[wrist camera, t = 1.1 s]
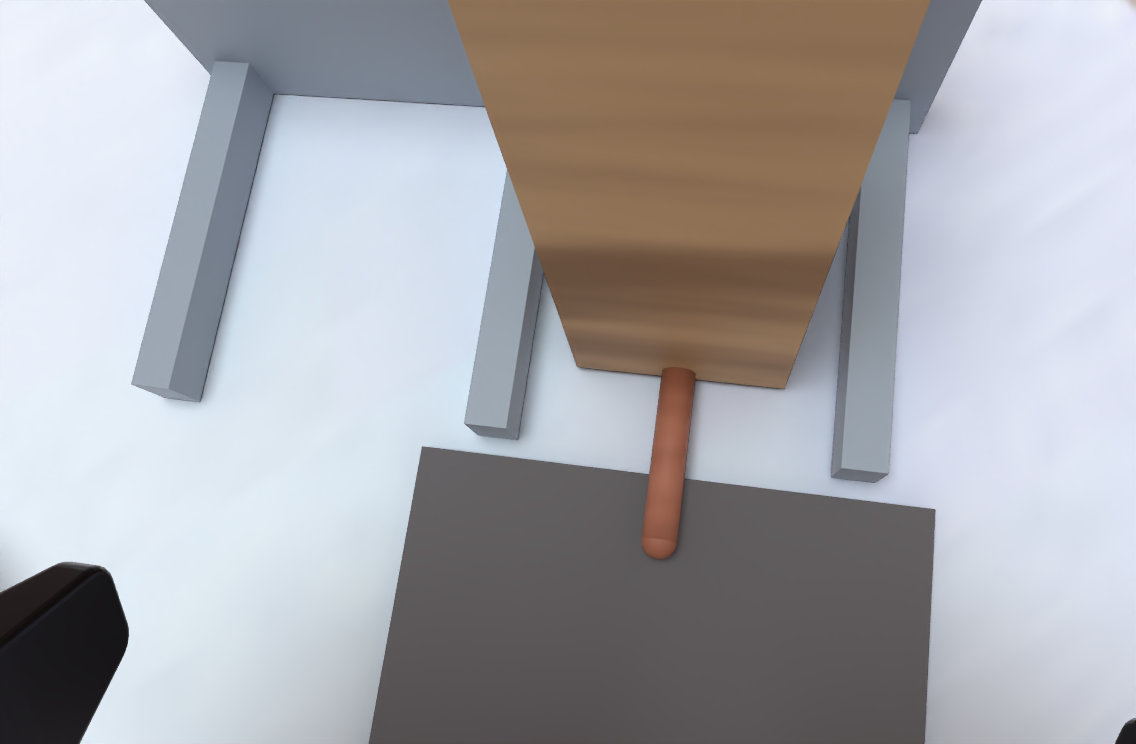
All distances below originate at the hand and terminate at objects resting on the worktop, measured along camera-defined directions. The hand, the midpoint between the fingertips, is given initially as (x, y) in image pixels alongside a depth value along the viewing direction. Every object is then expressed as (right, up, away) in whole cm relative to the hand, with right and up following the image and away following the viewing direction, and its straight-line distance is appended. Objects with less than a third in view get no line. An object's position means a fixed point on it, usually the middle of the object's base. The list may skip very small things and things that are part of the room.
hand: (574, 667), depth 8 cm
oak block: (+3, +3, +14) cm, 15 cm away
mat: (+2, -3, +13) cm, 13 cm away
